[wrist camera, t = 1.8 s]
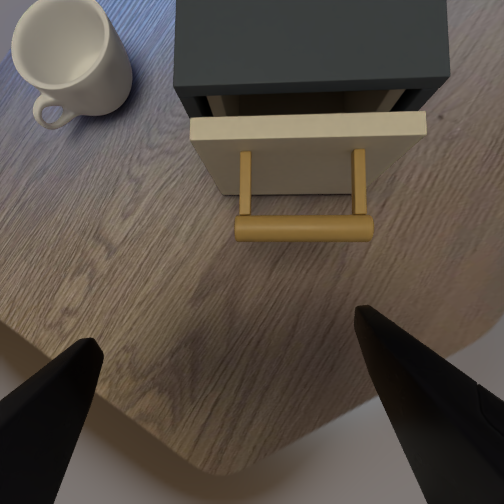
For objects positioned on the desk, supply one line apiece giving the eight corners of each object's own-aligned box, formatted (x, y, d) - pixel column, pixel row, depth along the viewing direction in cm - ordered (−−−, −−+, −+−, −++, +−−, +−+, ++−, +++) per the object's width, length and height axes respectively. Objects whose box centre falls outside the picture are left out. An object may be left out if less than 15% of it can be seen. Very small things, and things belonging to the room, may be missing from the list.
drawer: (361, 253, 21) (432, 237, 12) (221, 252, 22) (186, 237, 13) (357, 50, 23) (416, -101, 14) (224, 56, 24) (196, -84, 14)
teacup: (91, 38, 26) (44, -25, 20) (159, 70, 25) (129, 14, 20) (38, 128, 25) (-24, 88, 20) (106, 163, 24) (60, 132, 19)
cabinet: (363, 171, 23) (450, 76, 12) (217, 173, 24) (172, 86, 13) (359, 24, 24) (436, -189, 13) (220, 31, 25) (181, -164, 14)
